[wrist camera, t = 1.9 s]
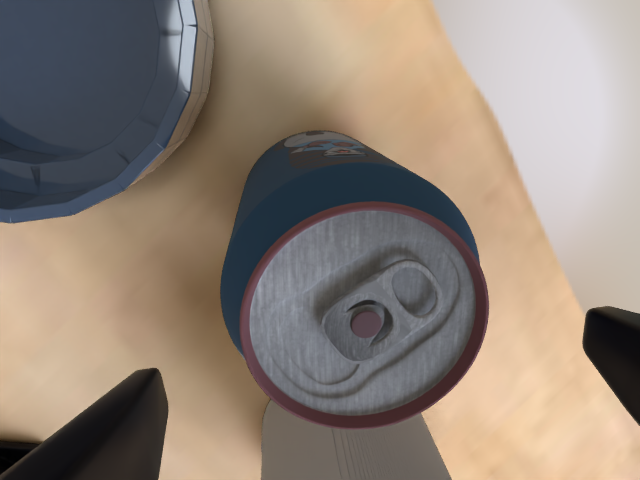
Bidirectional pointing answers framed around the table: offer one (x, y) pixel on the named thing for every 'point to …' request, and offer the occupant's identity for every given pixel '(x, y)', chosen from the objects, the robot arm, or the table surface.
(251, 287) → the soda can
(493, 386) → the table surface
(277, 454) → the cup
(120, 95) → the bowl
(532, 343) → the table surface
